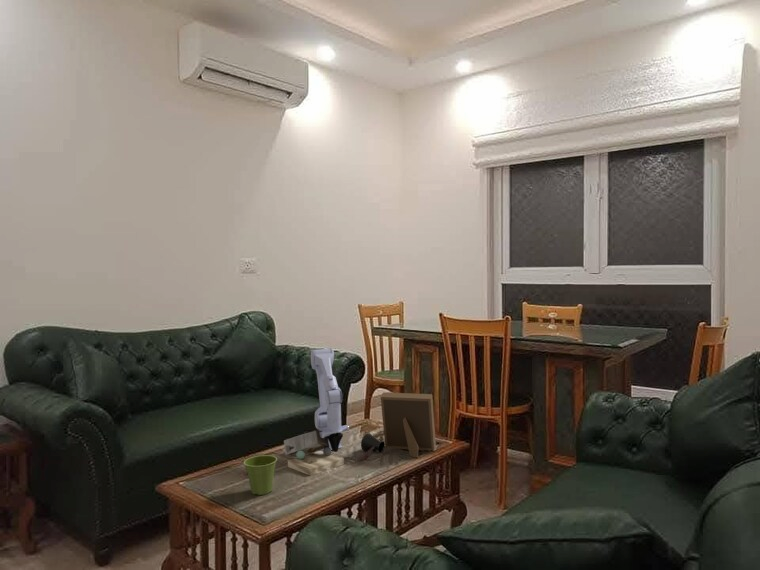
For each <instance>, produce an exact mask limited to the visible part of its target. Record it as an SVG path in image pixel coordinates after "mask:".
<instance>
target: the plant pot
mask: <svg viewBox="0 0 760 570" xmlns="http://www.w3.org/2000/svg"><path fill="white" fill-rule="evenodd" d="M277 461H278V458H277V456H274V455H272V454H271V455H270V454H262V455H257V456H256V455H255V456H252V457H249V458H246V459H245V460H244V461H243V465H244V467H245V470H246V473H247V476H248V482H249V486H250V491H251V493H252V494H253V495H258V496H263V495H268V494H270V492H272V491H273V485H274V476H275V475H274V474H275V468H276V463H277Z"/></svg>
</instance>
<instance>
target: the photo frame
mask: <svg viewBox="0 0 760 570" xmlns="http://www.w3.org/2000/svg"><path fill="white" fill-rule="evenodd" d="M380 405H381V416H382V425H383V437H384V443H385V447H384V449H395V450H408V453H409V457H412V456H414V457H413V458H415V457H418V458H419V451H424V450H434V449H435V450H436V447H437V445H436V444H437V443H436V442H437V441H436V440H437V439H436V429H435V428H436V427H435V417H434V416H435V414H434V400H433V394H432V393H412V392H411V393H407V392H384V391H383V392H382V394H381V396H380ZM435 450H434V451H435Z"/></svg>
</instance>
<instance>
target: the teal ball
mask: <svg viewBox="0 0 760 570" xmlns="http://www.w3.org/2000/svg"><path fill="white" fill-rule="evenodd" d="M296 456H297V458H298V459H303V458H304V456H305V453H304V452H303V451H298V452H297V454H296Z"/></svg>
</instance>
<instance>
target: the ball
mask: <svg viewBox="0 0 760 570" xmlns="http://www.w3.org/2000/svg"><path fill="white" fill-rule="evenodd" d="M323 453H324V455H326V456H328V455H330V454H332V451H331V449H330V448H329V447H326V448H324V450H323Z"/></svg>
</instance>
